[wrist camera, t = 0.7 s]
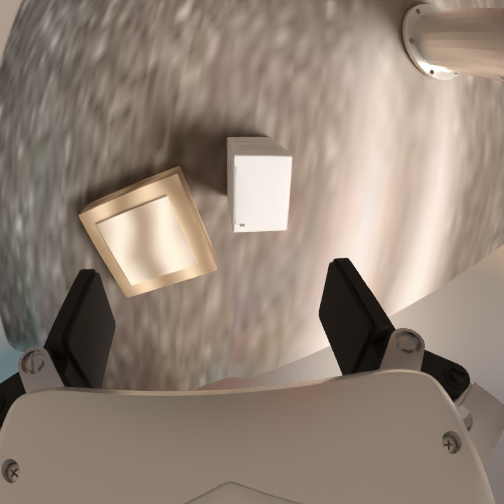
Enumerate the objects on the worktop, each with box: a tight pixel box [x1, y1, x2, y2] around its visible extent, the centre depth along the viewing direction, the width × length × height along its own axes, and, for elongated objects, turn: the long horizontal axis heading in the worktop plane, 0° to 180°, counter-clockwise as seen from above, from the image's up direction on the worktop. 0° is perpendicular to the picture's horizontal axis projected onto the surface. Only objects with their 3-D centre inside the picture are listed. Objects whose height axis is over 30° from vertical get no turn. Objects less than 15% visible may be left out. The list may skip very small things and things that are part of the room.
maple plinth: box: [78, 166, 217, 298], centre depth 37 cm, size 14×14×4 cm
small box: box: [227, 137, 293, 232], centre depth 32 cm, size 8×6×10 cm
